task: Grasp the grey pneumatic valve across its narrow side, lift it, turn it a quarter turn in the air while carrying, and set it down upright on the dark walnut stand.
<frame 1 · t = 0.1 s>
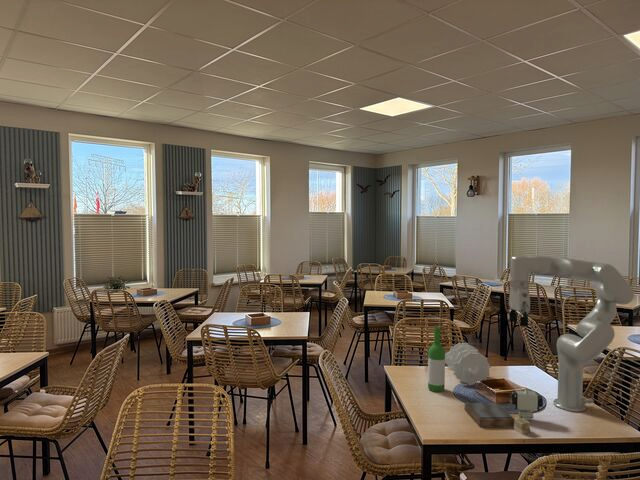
hand: (518, 323, 195), 37 cm above the table, tool pointing down, fingers open, 9 cm apart
wine bottle: (436, 390, 216), on the table
stand: (488, 417, 185), on the table
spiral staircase: (466, 379, 231), on the table
oak block: (521, 431, 173), on the table
pneumatic valve: (525, 419, 185), on the table
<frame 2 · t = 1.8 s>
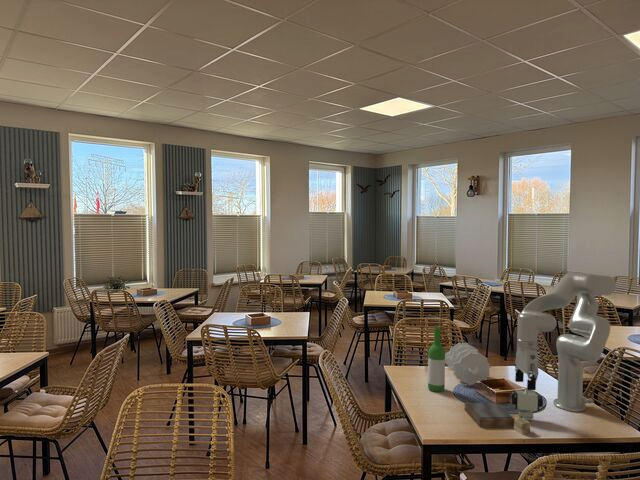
hand: (525, 385, 184), 14 cm above the table, tool pointing down, fingers open, 9 cm apart
nothing on the table moved.
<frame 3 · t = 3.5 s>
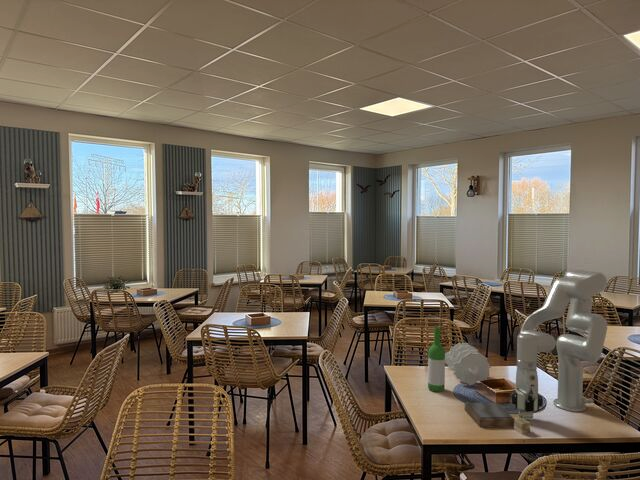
hand: (525, 407, 185), 5 cm above the table, tool pointing down, fingers closed on pneumatic valve, 5 cm apart
pneumatic valve: (525, 419, 185), on the table, touching gripper
everything else where it was.
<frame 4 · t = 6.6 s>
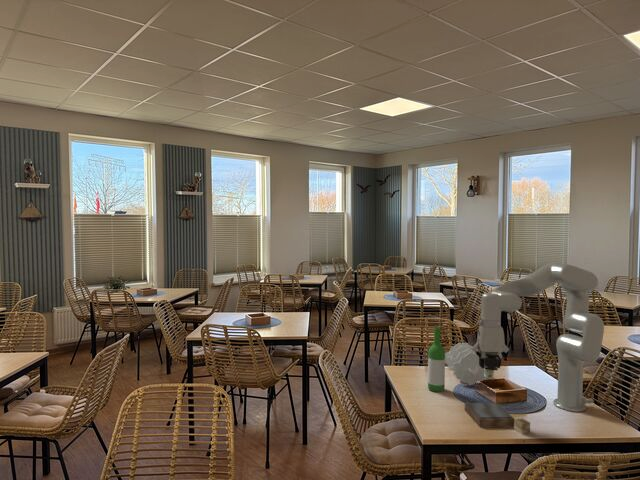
hand: (489, 366, 184), 21 cm above the table, tool pointing down, fingers closed on pneumatic valve, 5 cm apart
pneumatic valve: (489, 378, 184), point 16 cm above the table, touching gripper
everything else where it was.
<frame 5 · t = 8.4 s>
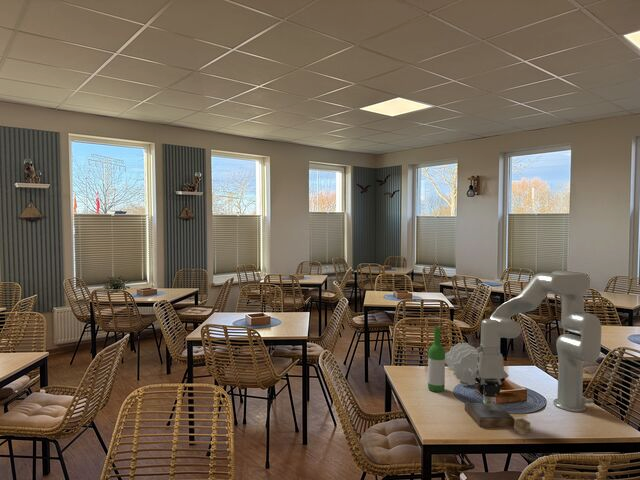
hand: (489, 393, 185), 10 cm above the table, tool pointing down, fingers closed on pneumatic valve, 5 cm apart
pneumatic valve: (489, 404, 185), point 6 cm above the table, touching gripper
everything else where it was.
when the fingers open (9 cm above the table, at t = 9.6 s): pneumatic valve stays where it is, resting on stand.
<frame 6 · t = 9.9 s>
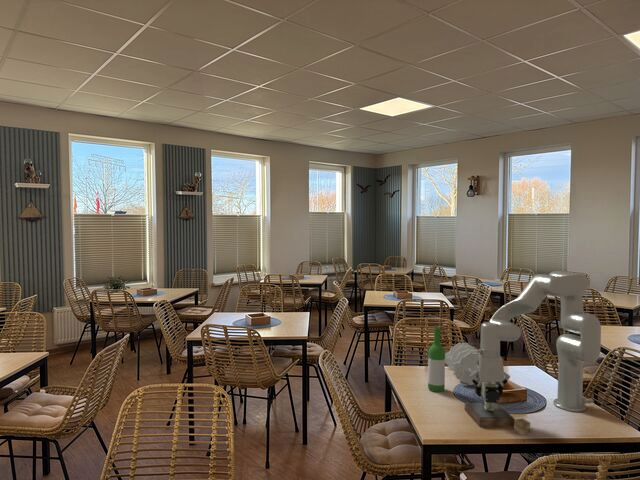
hand: (489, 395, 185), 10 cm above the table, tool pointing down, fingers open, 8 cm apart
pneumatic valve: (490, 410, 185), point 3 cm above the table, touching stand
everything else where it was.
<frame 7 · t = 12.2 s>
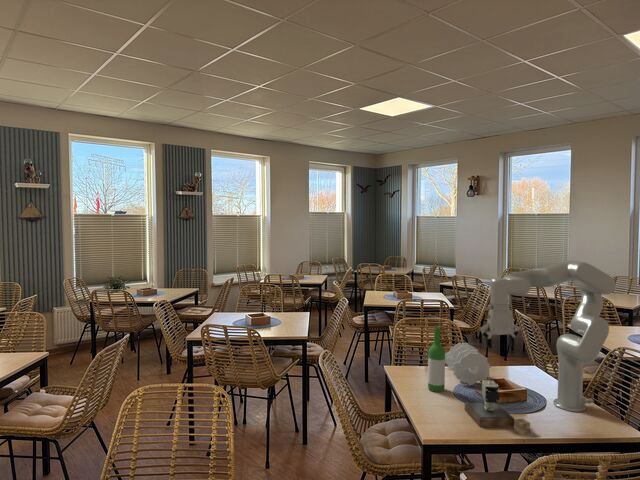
hand: (500, 346, 192), 27 cm above the table, tool pointing down, fingers open, 9 cm apart
nothing on the table moved.
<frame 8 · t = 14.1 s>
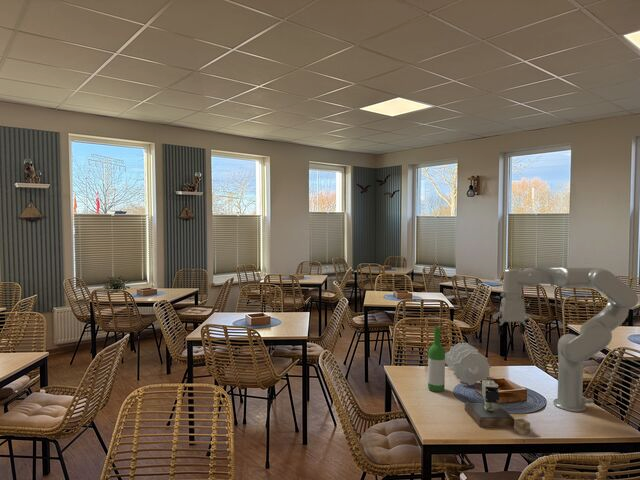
hand: (511, 333, 204), 30 cm above the table, tool pointing down, fingers open, 9 cm apart
nothing on the table moved.
at the end: pneumatic valve inside the target area on the stand (0.7 cm from its centre), point 3.2 cm above the stand's base; pneumatic valve tilted 0°; the gripper is holding nothing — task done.
